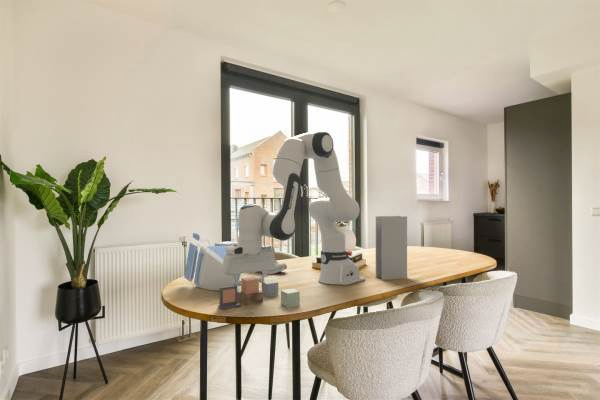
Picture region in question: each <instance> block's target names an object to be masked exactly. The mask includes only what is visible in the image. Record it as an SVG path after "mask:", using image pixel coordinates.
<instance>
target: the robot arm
mask: <svg viewBox="0 0 600 400" xmlns="http://www.w3.org/2000/svg"><path fill="white" fill-rule="evenodd" d="M275 158H276V159H275V160H274V161H275V162H274V164H273V168H272V176H273V178H274V179H275V180H276V182H277V183H279V184H280V185H282V187H283V194H282V195H283V196H282V200H281V204H280V209H279V210H278V212H271V211H269V210H268V209H265V208H263V207H262V206H261V205H260V204H258V203H250V204H245V205H243V206H241V207H240V208H239V210H238V211H239V212H238V219H237V228H238V238H237V242H238V243H235V244H233V245H231V246H228V247H226V249H225V251H226V253H227V254H226V255H225V256H224V261H223V272H224V273H225V274H226V275H233V278H234V280H235V281H236V285H237V287H241V280H240V279H239V280H238V279H237V277H238V274H247V273H248V274H249V273H259V272H258V271H261V275H260V276H259V277H258V279H259V284H260V283H261V284H262V283H263V282H264V281H265V277H266V275H268V274H267V270H273V269H274V268H275V260H276V257H275V253H276V252H275V251H276V250H275V248H274V247H273V246H272V245H262V244H263V241H262V240H263V239H262V238H263V237H268V238H272V239H275V240H278V241H288V240H290V239H291V238H292V237H293V236H294V234H295V232H296V229H297V213H298V205H299V200H300V194H301V189H302V188H301V187H302V180H301V172H302V168H303V163H304V160H305V159H306V160H307V159H308V160H309V159H312V160H313V166H314V173H315V178H316V184H317V185H316V186H317V188H318V189H319V191H321V192H323V193H324V194H326V196H327V197H321V198H317V199H313V200H312V201H310V204H309V206H308V213H309V216H310V217H311V218H312V219H313V220H314V221H315V222H316V223H317V226H318V228H319V231H320V235H321V236H320V237H321V251H320V263H321V264H320V272H319V276H318V279H317V281H318V282H319V283H322V284H325V285H326V284H327V285H339V286H340V285H342V286H348V285H352V284H355V283H356V284H357V283H359V282H362V281H365V278H366V277H364V276H363V275H361V274H360V269H359V268H360V267H359V266H358V265H357V264H356V263H354V262H353V260H351V259H349V257H352V256H353V252H352V251H347V250H346V234H345V233H344V231H343V230H341V229H340V228H339V227H338V225H337V223H336V222H341V223H342V222H343V223H345V222H351V221H355V220H356V219H357V218H358V217H359V215H360V210H361V209H360V205H359V203H358V201H357V200H356V199H354V198H352V197H351V196H350V194H349V193H348V191H346V188H345V186H344V185H343V181H342V178H341V171H340V165H339V162H338V158H337V154H336V150H335V148H334V140H333V138H332V135H331V134H330V133H329V132H327V131H322V130H321V131H320V130H319V131H309V132H306V133H301V134H296V135H294V136H292V137H289V138H286V139H285V140H284V141H283V143H282V145H281V146H280V148H279V150H278V153H277V154H276V157H275Z"/></svg>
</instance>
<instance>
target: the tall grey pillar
mask: <svg viewBox="0 0 600 400" xmlns="http://www.w3.org/2000/svg"><path fill="white" fill-rule="evenodd" d="M375 278H377V279H379V278H381V281H387V280H389V281H390V280H398V278H401V279H407V278H408V216H401V215H393V216H392V215H385V216H384V215H383V216H381V215H380V216H377V215H376V216H375Z"/></svg>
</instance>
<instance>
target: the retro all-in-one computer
mask: <svg viewBox="0 0 600 400" xmlns="http://www.w3.org/2000/svg"><path fill="white" fill-rule="evenodd" d="M192 238H193V239H194V240H196V241H201V242H205V241H207V242H208V244H209V245H207V246H205V245H203V246H201V245H195V244H194V243H192V242H189V246H188V252H187V258H186V264H185V272H184V276H183V277H184V278H185V280H187V281H188V282H191V283H193V284H194V285H195V286H196V287H198V288H200V289H203V290H204V289H205V290H209V291H210V290H211V291H219V288H220V287H227V286H234V285H236V281H235V280H234V278H233V275H226V274H225V273H224V272H223V261H224V256H225V255H226V254H227V253H226V251H225V249H226V247H228V246H215V245H211V243H210V241H209V240H208V239H205V240H201V239H200V238H201V237H200V234H199V233H197V232H193V233H192ZM199 247H200V249H199ZM240 278H241V275H240V274H238V277H237V279H238V280H240ZM192 281H193V282H192Z"/></svg>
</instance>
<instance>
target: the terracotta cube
mask: <svg viewBox="0 0 600 400" xmlns="http://www.w3.org/2000/svg"><path fill="white" fill-rule="evenodd" d="M240 278H241V280H240V281H241V286H240V291H242V292H243V293H245V294H252V293H258V292H259V291H260V282H259V277H258V278H257V277H255V276H246V277H240Z"/></svg>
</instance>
